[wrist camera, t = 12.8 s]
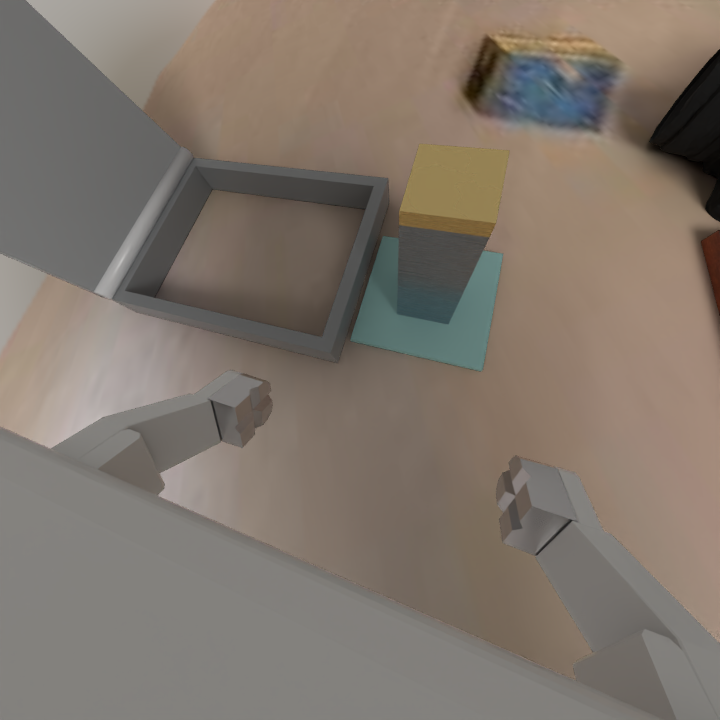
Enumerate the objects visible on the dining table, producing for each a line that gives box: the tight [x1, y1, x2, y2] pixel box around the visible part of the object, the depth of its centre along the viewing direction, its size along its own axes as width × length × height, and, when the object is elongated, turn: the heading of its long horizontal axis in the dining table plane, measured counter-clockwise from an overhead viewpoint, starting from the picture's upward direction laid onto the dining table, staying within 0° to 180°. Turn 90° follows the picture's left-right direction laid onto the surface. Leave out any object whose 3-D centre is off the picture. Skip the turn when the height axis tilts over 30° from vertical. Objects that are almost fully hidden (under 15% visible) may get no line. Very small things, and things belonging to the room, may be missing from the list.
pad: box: [350, 236, 503, 371], centre depth 21 cm, size 10×10×1 cm
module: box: [397, 144, 509, 325], centre depth 16 cm, size 4×4×10 cm
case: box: [0, 0, 389, 363], centre depth 18 cm, size 27×16×16 cm, turn 74°
